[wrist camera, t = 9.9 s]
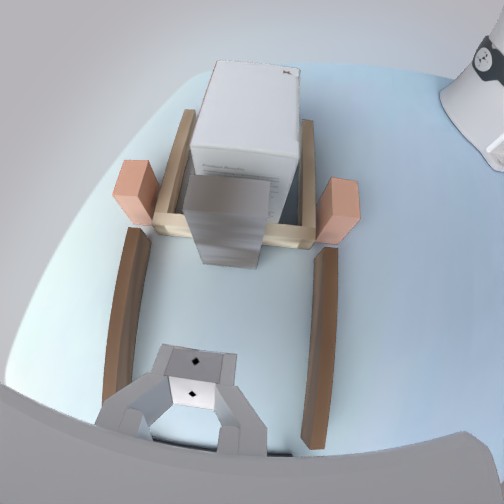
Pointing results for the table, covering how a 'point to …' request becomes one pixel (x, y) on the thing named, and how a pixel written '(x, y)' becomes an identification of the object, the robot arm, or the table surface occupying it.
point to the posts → (327, 210)
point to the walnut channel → (320, 340)
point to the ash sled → (232, 206)
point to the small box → (250, 127)
